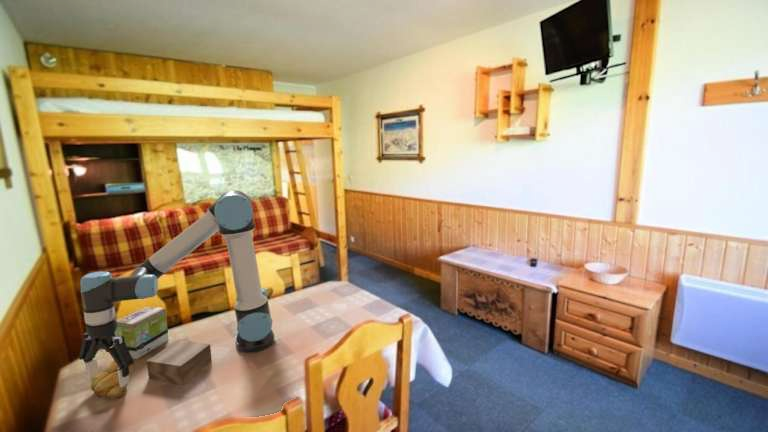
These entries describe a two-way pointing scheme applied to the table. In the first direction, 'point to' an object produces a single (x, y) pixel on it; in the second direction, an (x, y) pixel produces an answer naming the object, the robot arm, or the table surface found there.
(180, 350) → the walnut block
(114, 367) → the bread roll
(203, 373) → the table surface
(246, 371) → the table surface
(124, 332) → the tea box
